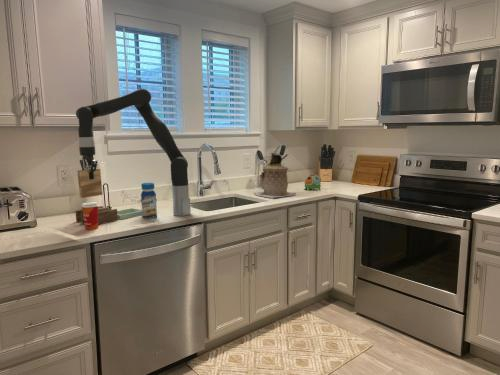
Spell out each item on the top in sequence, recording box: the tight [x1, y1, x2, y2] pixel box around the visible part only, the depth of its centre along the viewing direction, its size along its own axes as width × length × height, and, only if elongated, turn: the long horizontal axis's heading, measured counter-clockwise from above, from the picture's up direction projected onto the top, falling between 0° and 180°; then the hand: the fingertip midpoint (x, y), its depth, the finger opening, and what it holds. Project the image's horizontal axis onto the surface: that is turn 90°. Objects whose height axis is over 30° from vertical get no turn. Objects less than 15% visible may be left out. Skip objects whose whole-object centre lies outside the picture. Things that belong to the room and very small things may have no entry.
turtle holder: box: [304, 174, 322, 192], centre depth 303 cm, size 12×18×12 cm
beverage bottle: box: [140, 182, 158, 220], centre depth 207 cm, size 8×8×20 cm
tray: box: [117, 207, 142, 221], centre depth 211 cm, size 12×16×4 cm
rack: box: [75, 205, 119, 225], centre depth 198 cm, size 15×15×8 cm
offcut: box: [98, 206, 107, 212], centre depth 197 cm, size 2×10×6 cm, turn 143°
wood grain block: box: [77, 168, 103, 199], centre depth 198 cm, size 3×11×14 cm, turn 143°
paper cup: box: [81, 201, 99, 231], centre depth 182 cm, size 8×8×14 cm
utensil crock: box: [252, 152, 297, 200], centre depth 277 cm, size 25×25×32 cm
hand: (89, 178), depth 197 cm, fingers closed on wood grain block, 3 cm apart
